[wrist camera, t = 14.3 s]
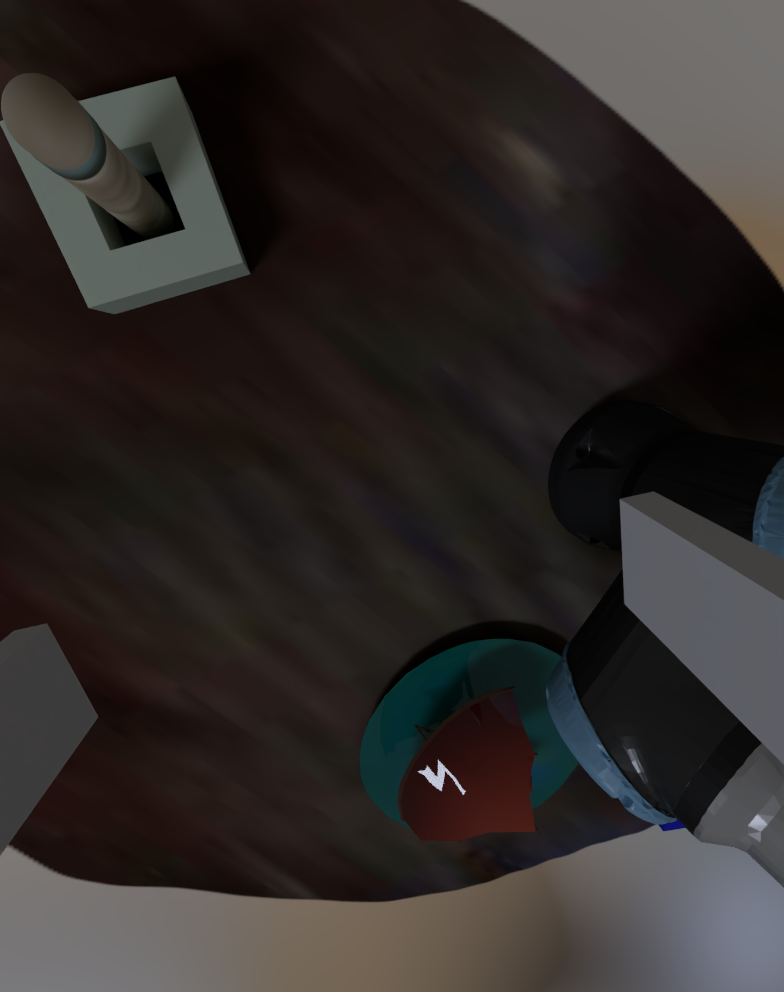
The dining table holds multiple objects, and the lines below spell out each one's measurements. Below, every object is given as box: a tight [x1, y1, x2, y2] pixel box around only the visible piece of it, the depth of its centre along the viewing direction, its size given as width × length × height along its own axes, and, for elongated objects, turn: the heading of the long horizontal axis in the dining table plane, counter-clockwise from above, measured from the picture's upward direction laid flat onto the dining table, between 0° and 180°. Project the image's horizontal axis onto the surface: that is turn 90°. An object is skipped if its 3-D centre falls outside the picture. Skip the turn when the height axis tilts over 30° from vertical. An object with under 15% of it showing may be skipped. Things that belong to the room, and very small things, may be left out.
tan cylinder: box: [1, 73, 175, 240], centre depth 27 cm, size 3×3×15 cm
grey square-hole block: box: [0, 77, 250, 314], centre depth 32 cm, size 11×11×4 cm
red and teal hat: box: [360, 639, 578, 843], centre depth 49 cm, size 28×28×11 cm
